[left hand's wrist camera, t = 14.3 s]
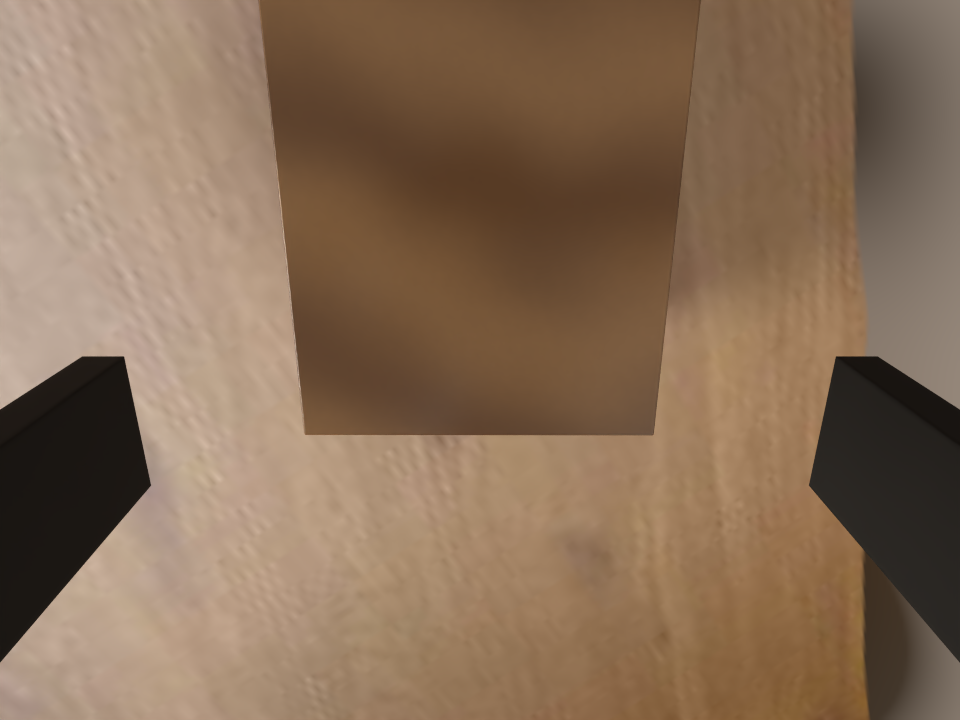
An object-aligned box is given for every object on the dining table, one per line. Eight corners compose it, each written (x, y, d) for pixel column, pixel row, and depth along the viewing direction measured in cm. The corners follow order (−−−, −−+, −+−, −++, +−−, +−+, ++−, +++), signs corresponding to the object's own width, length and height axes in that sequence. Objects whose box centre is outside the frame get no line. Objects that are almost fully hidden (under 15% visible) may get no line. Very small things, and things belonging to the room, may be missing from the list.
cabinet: (328, -113, 24) (231, -250, 15) (631, -113, 24) (728, -249, 15) (358, 331, 31) (303, 435, 21) (599, 331, 31) (653, 435, 21)
